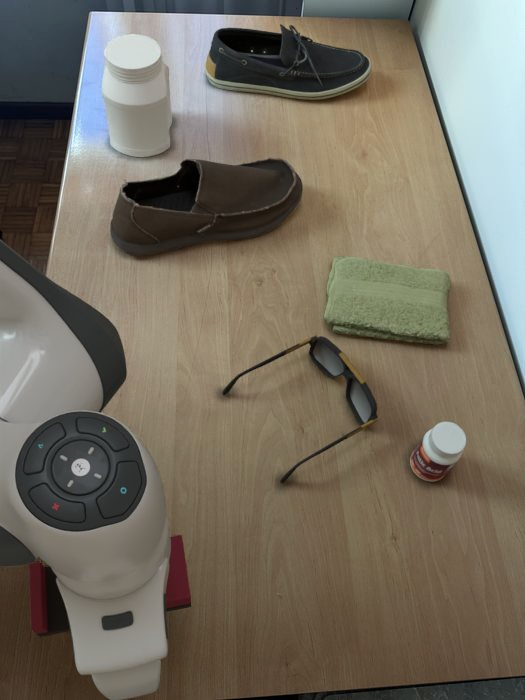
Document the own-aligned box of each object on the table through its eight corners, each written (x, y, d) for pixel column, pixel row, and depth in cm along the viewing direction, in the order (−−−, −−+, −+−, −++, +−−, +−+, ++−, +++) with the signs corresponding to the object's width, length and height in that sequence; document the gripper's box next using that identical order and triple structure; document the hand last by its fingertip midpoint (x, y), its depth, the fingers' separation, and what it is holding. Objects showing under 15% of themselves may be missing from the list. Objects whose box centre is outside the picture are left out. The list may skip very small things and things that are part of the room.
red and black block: (39, 637, 61) (29, 630, 57) (37, 571, 64) (28, 561, 60) (191, 607, 63) (191, 598, 60) (182, 544, 66) (181, 533, 63)
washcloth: (329, 260, 98) (332, 246, 96) (447, 279, 98) (454, 266, 95) (320, 333, 91) (323, 320, 89) (447, 354, 91) (454, 342, 88)
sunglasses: (221, 395, 85) (222, 376, 81) (318, 345, 90) (323, 325, 86) (280, 484, 80) (284, 469, 75) (380, 426, 85) (389, 408, 80)
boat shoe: (369, 107, 117) (381, 61, 109) (203, 96, 115) (202, 48, 107) (365, 68, 123) (376, 21, 115) (206, 57, 121) (206, 9, 113)
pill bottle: (402, 466, 82) (420, 438, 75) (422, 439, 84) (442, 410, 77) (434, 490, 81) (456, 465, 74) (454, 462, 83) (477, 435, 76)
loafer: (314, 219, 102) (324, 167, 93) (130, 280, 94) (121, 230, 85) (282, 172, 107) (288, 118, 98) (104, 226, 99) (93, 173, 90)
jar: (115, 108, 112) (103, 25, 99) (172, 110, 113) (168, 28, 100) (109, 156, 106) (95, 74, 93) (169, 158, 107) (163, 78, 94)
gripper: (62, 426, 55) (86, 483, 67) (77, 698, 45) (103, 709, 57) (138, 414, 56) (149, 473, 68) (171, 678, 46) (176, 693, 58)
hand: (128, 582), depth 62 cm, fingers closed on red and black block, 6 cm apart
